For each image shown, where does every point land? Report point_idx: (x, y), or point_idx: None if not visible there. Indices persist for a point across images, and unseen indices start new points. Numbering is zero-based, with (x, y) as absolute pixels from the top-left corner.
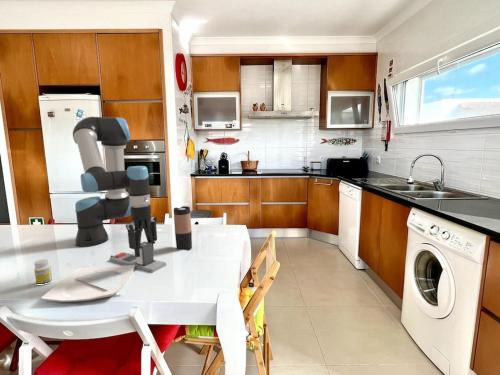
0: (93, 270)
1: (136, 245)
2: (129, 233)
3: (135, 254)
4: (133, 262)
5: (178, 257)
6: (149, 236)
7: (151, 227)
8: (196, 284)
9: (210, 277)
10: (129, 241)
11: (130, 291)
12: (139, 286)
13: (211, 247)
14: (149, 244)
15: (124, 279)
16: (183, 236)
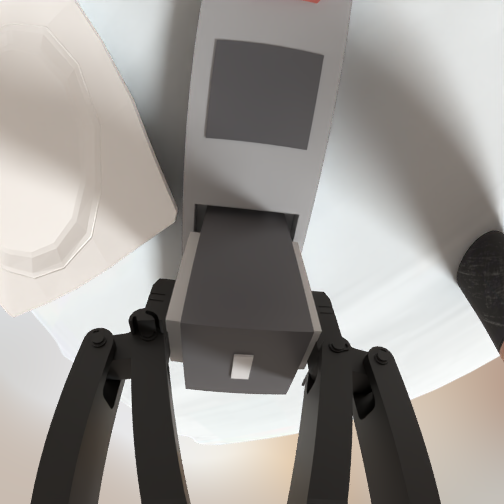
0: (49, 15)
1: (160, 354)
2: (50, 483)
3: (150, 298)
4: (208, 175)
5: (394, 299)
6: (300, 435)
7: (389, 485)
8: (205, 414)
9: (252, 421)
10: (67, 397)
11: (67, 315)
12: (100, 321)
13: (470, 335)
14: (255, 391)
15: (70, 267)
16: (493, 338)
